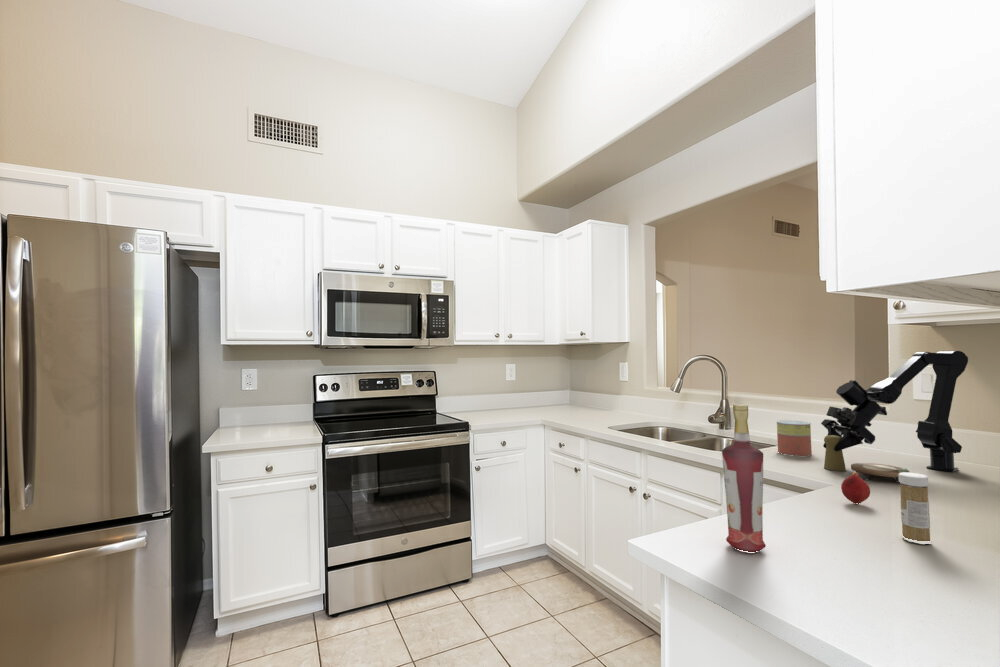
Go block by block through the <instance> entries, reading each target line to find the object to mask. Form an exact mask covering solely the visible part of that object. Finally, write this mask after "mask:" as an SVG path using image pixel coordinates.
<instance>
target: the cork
mask: <svg viewBox="0 0 1000 667" xmlns="http://www.w3.org/2000/svg"><path fill="white" fill-rule="evenodd" d="M827 435H828V434H827ZM827 435H826V436H824V438H823V441H824V442H823V443H825V444H826V448H825V452H824V453H825V454H824V455H825V456H824V463H823V468H824V469H825V468H826V469H825V470H828V469H831V470H830V471H833V470H836V471H835V472H845V471H847V468H846V463H845V457H844V454H843V450H840V451H837V452H836V451H835V450H834V447H835V446H836V445H837V443H838V442H839V441H840V439H841V437H839V436H835V435H828V436H827Z"/></svg>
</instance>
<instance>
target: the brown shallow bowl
mask: <svg viewBox="0 0 1000 667" xmlns="http://www.w3.org/2000/svg"><path fill="white" fill-rule="evenodd" d="M850 469H851V470H852V471H854V472H856V473H858V474H859V475H858V477H860V478H861V479H869V480H870V475H871V476H875V477H876V476H878V477H884V478H885V477H886V478H895V479H894V481H895V482H896V483H899V473H902V472H910V470H908V468H906V467H905V468H904V467H899V466H896V465H890V464H882V463H872V462H871V463H870V462H858V463H852V464H850Z"/></svg>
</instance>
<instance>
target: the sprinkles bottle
mask: <svg viewBox="0 0 1000 667" xmlns="http://www.w3.org/2000/svg"><path fill="white" fill-rule="evenodd" d="M899 482H900V483H899ZM899 482H898V483H899V487H900V516H901V518H900V519H901V529H902V530H901V531H902V535H903V536H904V537H905V538H908V539H912V540H917V541H930V540H931V530H930V529H931V517H930V516H931V515H930V501H929V491H928V490H929V484H930V483H929V477H928V475H926V474H922V473H917V472H910V471H909V472H902V473H899Z"/></svg>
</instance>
